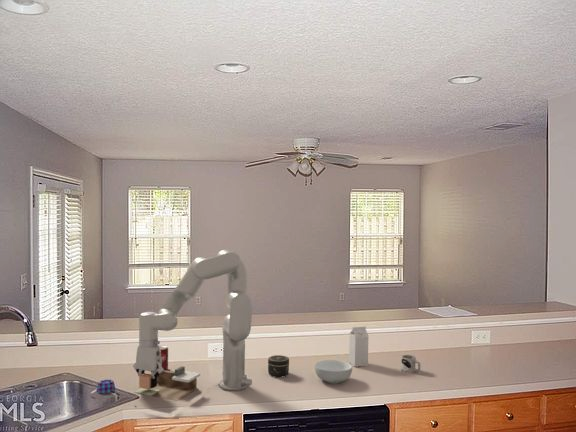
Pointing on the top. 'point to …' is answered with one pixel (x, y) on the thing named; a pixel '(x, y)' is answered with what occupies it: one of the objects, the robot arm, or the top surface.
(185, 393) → the puzzle board
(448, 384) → the top surface
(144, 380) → the terracotta block
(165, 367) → the soda can
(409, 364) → the mug
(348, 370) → the cereal bowl
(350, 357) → the milk carton
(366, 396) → the top surface
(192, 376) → the sliding lid
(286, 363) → the jar
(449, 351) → the top surface
